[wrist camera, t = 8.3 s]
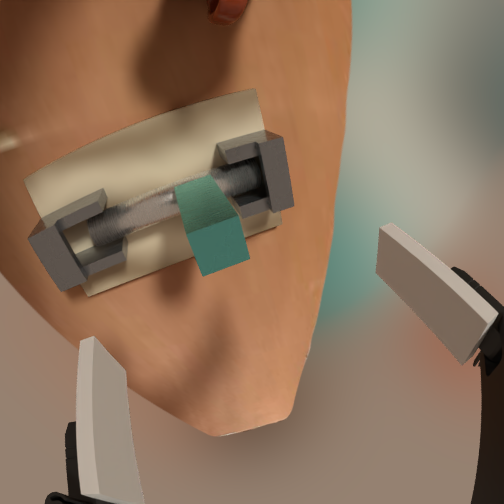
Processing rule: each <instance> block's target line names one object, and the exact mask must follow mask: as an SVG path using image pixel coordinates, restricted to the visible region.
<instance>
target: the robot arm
mask: <svg viewBox="0 0 504 504" xmlns="http://www.w3.org/2000/svg"><path fill="white" fill-rule="evenodd" d="M376 273H377V275H379V277H380V278H381V279H383V281H385V282H386V284H388V286H389V287H390V288H391V289H392V290H393V291H394V292H395V293H396V294H397V295H398V296H399V297H400V298H401V299H402V300H403V301H404V302H405V303H406V304H407V305H408V306H409V307H410V308H411V309H412V310H413V311H414V312H415V313H416V315H417V316H418V317H419V318H420V319H421V320H422V321H423V322H424V323H425V324H426V325H427V326H428V328H429V329H430V330H432V332H433V333H434V334H435V335H436V336H437V337H438V339H439V340H440V341H441V342H442V343H443V344H444V345H445V346H446V348H447V349H448V350H449V351H450V352H451V353H452V355H453V356H454V357H455V358H456V359H457V360H458V362H459V363H460V364H461V365H463V364H464V363H465V362H466V361H468V360H469V359H470V358H471V357H472V356H473V355H474V353H475V352H476V350H477V349H478V347H479V348H480V350H481V351H480V353H479V354H478V356H477V357H476V359H475V360H474V363H473V366H476V364H477V363H478V361H479V360H480V362H479V365H478V366H480V368H481V391H482V392H481V393H482V411H481V435H480V448H479V458H478V465H477V473H476V479H475V485H474V491H473V496H472V501H471V504H504V306H502V305H501V304H500V303H499V302H498V301H497V300H496V299H495V298H494V297H493V296H492V295H491V294H489V293H488V292H487V291H486V290H485V289H484V288H483V287H482V286H480V285H479V283H477V282H476V281H475V280H473V278H472V277H470V276H469V275H468V274H467V273H466V272H465V271H463V270H461V269H458V268H456V267H452V268H451V269H450V268H449V267H448V266H446V265H445V264H444V263H443V262H442V261H440V260H439V259H438V258H437V257H436V256H434V255H433V254H432V253H430V252H429V251H428V250H427V249H425V248H424V247H423V246H422V245H420V244H419V243H418V242H417V241H415V240H414V239H413V238H411V237H410V236H409V235H408V234H406V233H405V232H403V231H402V230H401V229H400V228H398V227H397V226H395V225H394V224H393V223H389V224H387V225H384V226H382V227H380V228H379V242H378V254H377V265H376ZM78 360H79V361H78V373H77V393H76V421H75V422H70V423H68V427H67V430H66V433H65V447H66V450H65V451H66V458H67V459H66V470H67V481H68V492H69V495H68V496H67V495H64V494H61V493H58V492H52V493H50V494H49V495H48V496H47V498H46V500H45V504H145V501H144V497H143V492H142V488H141V483H140V478H139V473H138V467H137V462H136V456H135V450H134V444H133V437H132V430H131V422H130V413H129V403H128V392H127V378H126V370H125V369H124V368H123V367H122V366H121V365H120V364H119V363H118V362H117V361H116V360H115V359H114V358H113V356H112V355H111V354H110V353H109V352H108V351H107V350H106V349H105V348H104V346H103V345H102V344H101V343H100V342H99V341H98V340H97V338H96V337H95V336H92V337H89V338H86V339H83V340H80V348H79V359H78Z"/></svg>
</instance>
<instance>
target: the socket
mask: <svg viewBox="0 0 504 504" xmlns="http://www.w3.org/2000/svg"><path fill="white" fill-rule="evenodd" d="M216 144H217V148H218V152H219V155H220V157H221V158H222V159H223V160H224V161H225V162H226V163H227V164H228V165H229V164H232V163H236V162H239V161H242V160H245V159H249V158H252V157H255V156H259V160H260V165H261V170H262V174H263V179H264V183H262V186H261V187H258V188H255V189H252V190H249V191H246V192H243V193H240V194H237V195H234V196H231V200H232V204H233V206H234V207H235V209H236V210H237V212H238V213H239V215H240V216H241V217H242V219H244V218H247V217H250V216H253V215H256V214H259V213H261V212H264V211H267V210H271V212H272V213H276V212H279V211H282V210H284V209H287V208H290V207H293V206H294V200H293V193H292V187H291V181H290V175H289V169H288V163H287V157H286V151H285V146H284V140H283V137H282V136H279V135H277V134H274V133H272V132H269V131H267V130H261V131H257V132H254V133H250V134H246V135H243V136H239V137H236V138H232V139H229V140H225V141H222V142H219V143H216Z"/></svg>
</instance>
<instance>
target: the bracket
mask: <svg viewBox="0 0 504 504" xmlns="http://www.w3.org/2000/svg"><path fill="white" fill-rule="evenodd" d="M107 198H108V197H107V195H106V193H105V190H104V188H102V189H100V190H97V191H95V192H93V193H91V194H89V195H86V196H84V197H82V198H80V199H78V200H76V201H74V202H72V203H70V204H68V205H66V206H64V207H62V208H60V209H58V210H56V211H54V212H52V213H50V214H48V215H46V216H44V217H43V218H41V219H40V221H39V222H38V224H37V225H36V227H35V228H34V230H33V231H32V233H31V234H30V236H29V237H28V240H29V242H30V244H31V246H32V247H33V249H34V251H35V252H36V254H37V256H38V257H39V259H40V261H41V262H42V264H43V265H44V267H45V269H46V270H47V272H48V273H49V275H50V276H51V278H52V279H53V281H54V282H55V284H56V285H57V287H58V288H59V290H60V291H61V292H62V291H65V290H67V289H69V288H72V287H74V286H77V285H79V284H81V283H84V282H86V281H87V279H88V276H89V275H91V274H94V273H96V272H99V271H101V270H104V269H106V268H109V267H111V266H113V265H116V264H118V263H121V262H123V261H126V260H127V251H128V240H127V238H126V236H124V237H122V238H119V239H117V240H114V241H112V242H110V243H107V244H105V245H103V246H100V247H98V246H96V245H95V246H93V247H90V248H88V249H86V250H83V251H81V252H79V253H77V254H75V253H74V251H73V249H72V248H71V246H70V244H69V242H68V240H67V239H66V237H65V235H64V233H63V230H65V229H67V228H69V227H71V226H73V225H75V224H77V223H79V222H82V221H84V220H86V219H88V218H90V217H93V216H95V215H97V214H99V213H102V212H103V210H104V207H105V204H106V201H107Z"/></svg>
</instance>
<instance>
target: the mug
mask: <svg viewBox="0 0 504 504" xmlns="http://www.w3.org/2000/svg"><path fill="white" fill-rule="evenodd" d="M247 2H248V0H207V5H208V11H207V17H208V20H209V22H210V23H212V24H216V25H223V26H225V25H231V24H233V23H234V22H236V21H237V20H238V19H239V18H240V17H241V15H242V14H243V12H244V10H245V7H246V5H247Z"/></svg>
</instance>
